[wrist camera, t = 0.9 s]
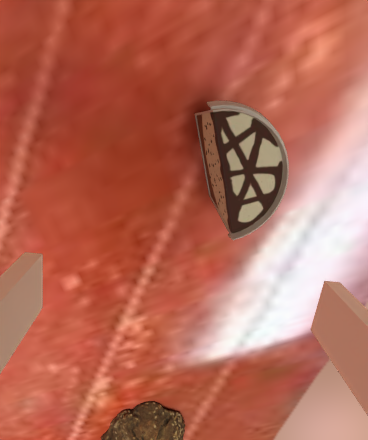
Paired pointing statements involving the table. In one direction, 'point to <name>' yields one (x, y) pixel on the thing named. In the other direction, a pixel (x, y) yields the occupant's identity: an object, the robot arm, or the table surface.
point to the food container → (242, 165)
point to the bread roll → (146, 424)
